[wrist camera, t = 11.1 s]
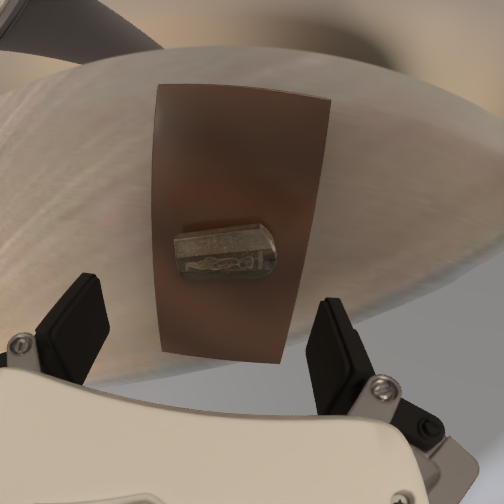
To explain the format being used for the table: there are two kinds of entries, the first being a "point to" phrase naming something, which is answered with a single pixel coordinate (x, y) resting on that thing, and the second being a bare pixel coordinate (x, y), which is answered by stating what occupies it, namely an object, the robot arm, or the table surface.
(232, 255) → the block
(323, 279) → the table surface
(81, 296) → the robot arm
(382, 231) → the table surface
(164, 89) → the shelf
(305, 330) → the table surface
